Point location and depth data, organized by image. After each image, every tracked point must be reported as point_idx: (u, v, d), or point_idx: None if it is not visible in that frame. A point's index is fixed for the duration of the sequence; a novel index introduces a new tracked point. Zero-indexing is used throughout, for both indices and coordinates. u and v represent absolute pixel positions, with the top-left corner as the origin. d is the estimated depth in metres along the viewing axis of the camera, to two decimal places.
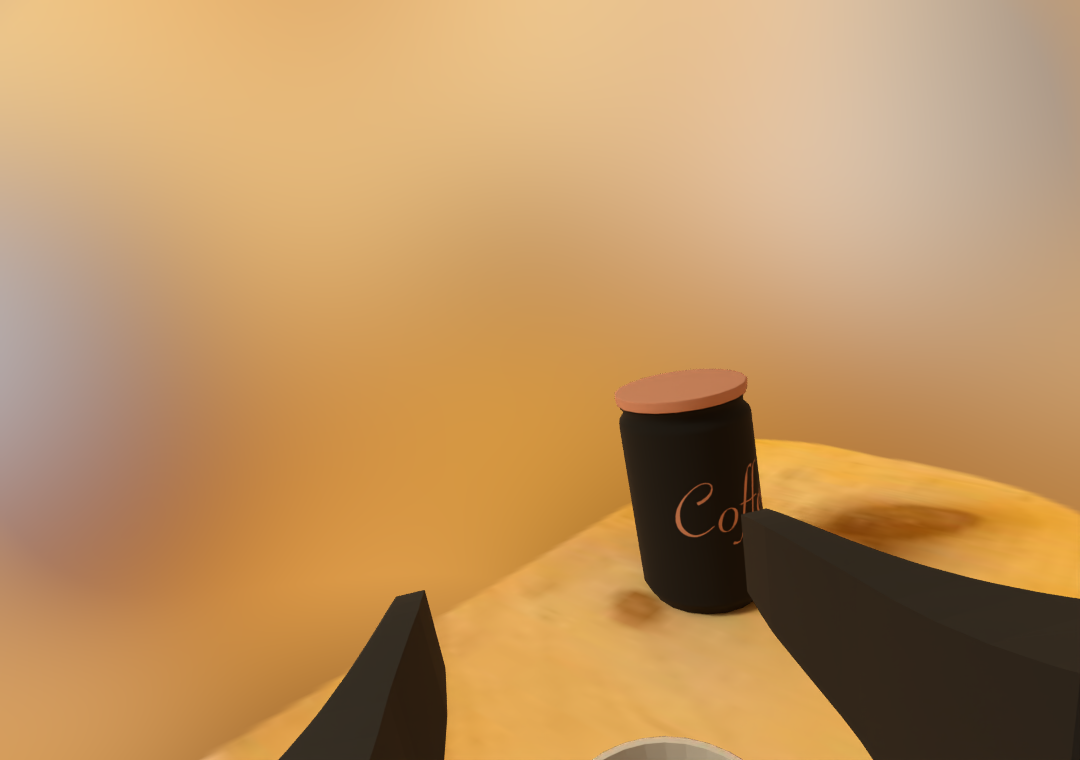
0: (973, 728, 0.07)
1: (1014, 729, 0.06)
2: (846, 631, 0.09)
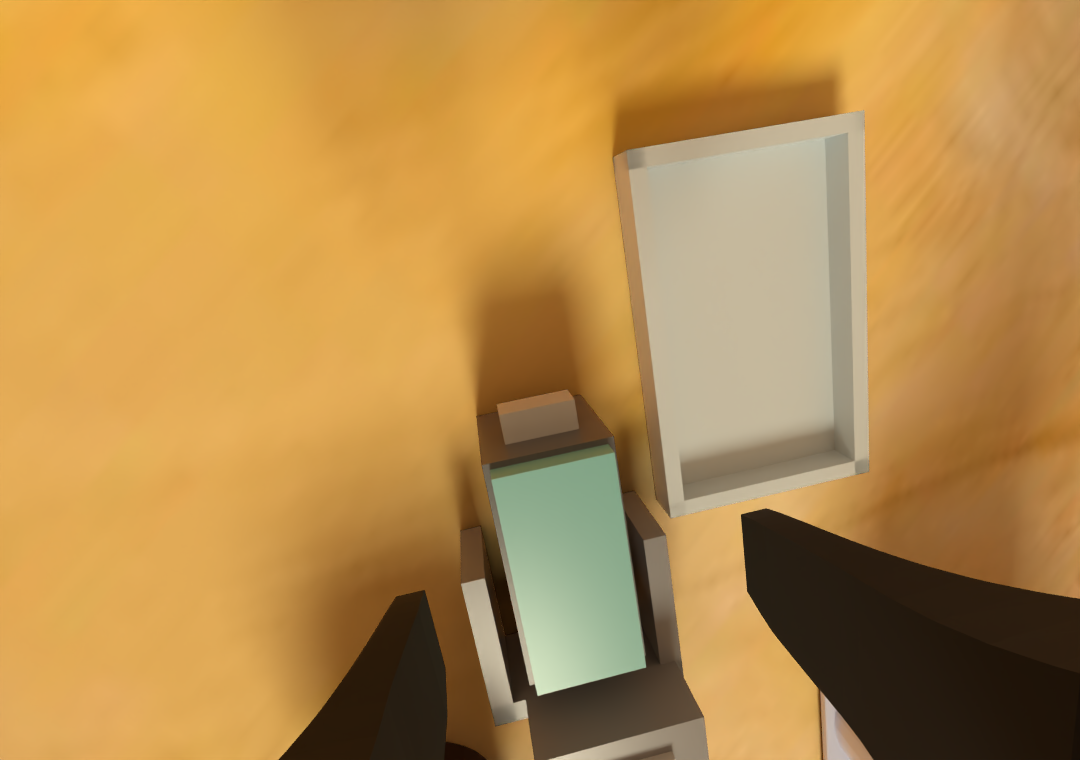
0: (973, 728, 0.07)
1: (1014, 729, 0.06)
2: (846, 631, 0.09)
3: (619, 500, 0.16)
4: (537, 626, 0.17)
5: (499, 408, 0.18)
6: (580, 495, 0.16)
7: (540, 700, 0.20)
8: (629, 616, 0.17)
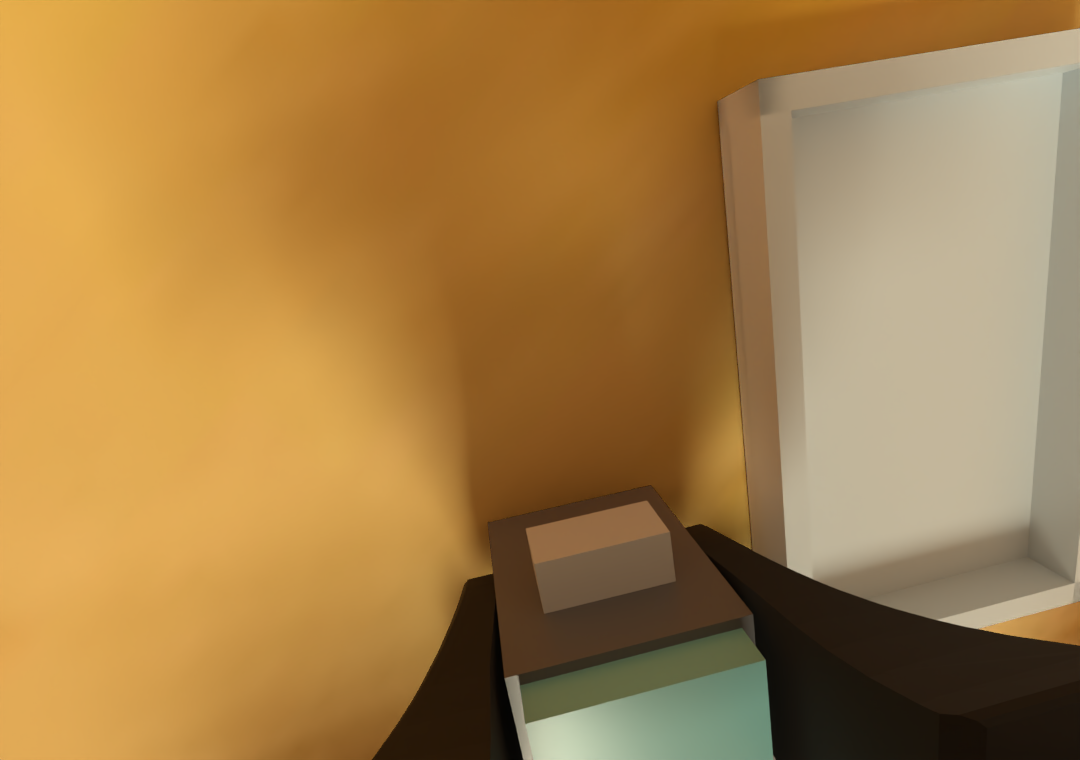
0: None
1: None
2: (761, 653, 0.09)
3: (767, 741, 0.09)
4: None
5: (532, 543, 0.10)
6: (696, 739, 0.08)
7: None
8: None
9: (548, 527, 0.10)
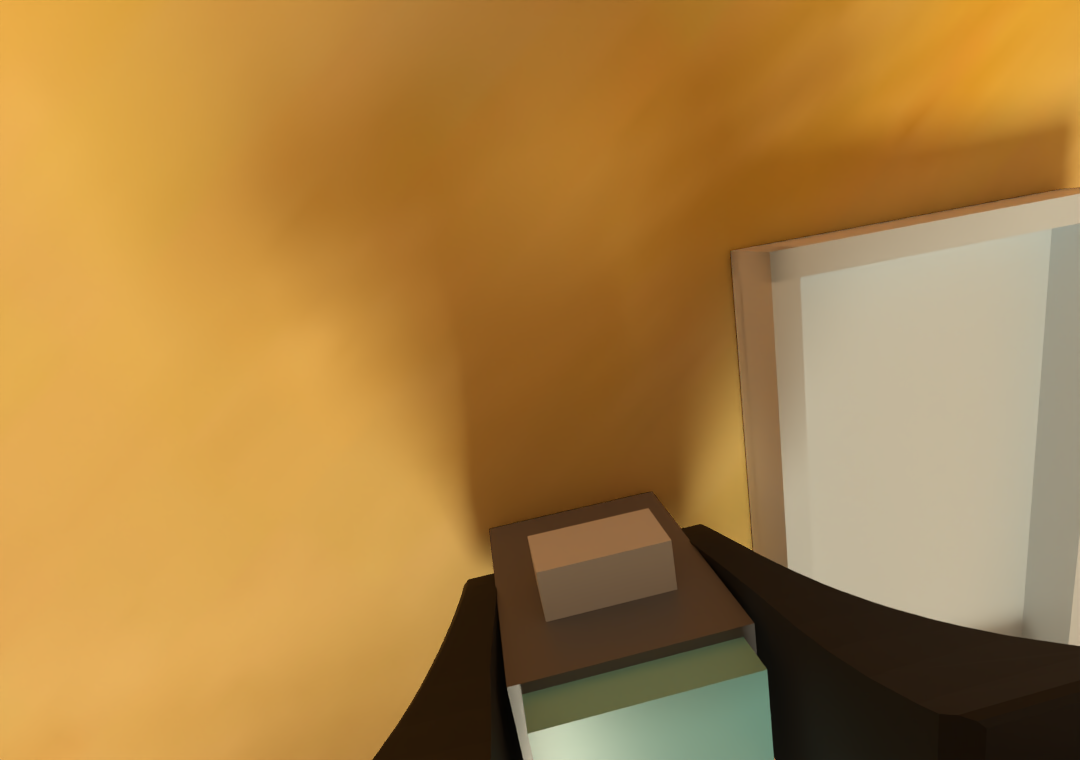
0: None
1: None
2: (761, 654, 0.09)
3: (769, 750, 0.09)
4: None
5: (534, 551, 0.10)
6: (697, 748, 0.08)
7: None
8: None
9: (550, 535, 0.10)
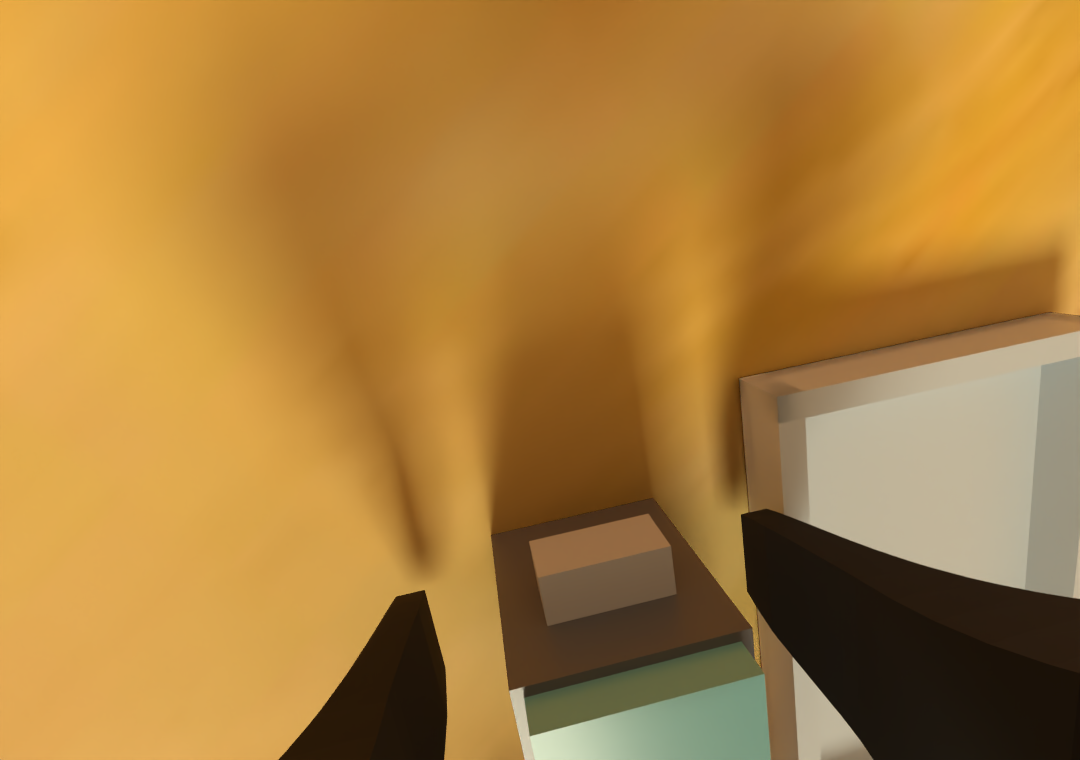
0: (973, 728, 0.07)
1: (1014, 729, 0.06)
2: (846, 631, 0.09)
3: (766, 752, 0.09)
4: None
5: (535, 556, 0.10)
6: (696, 750, 0.08)
7: None
8: None
9: (551, 540, 0.11)
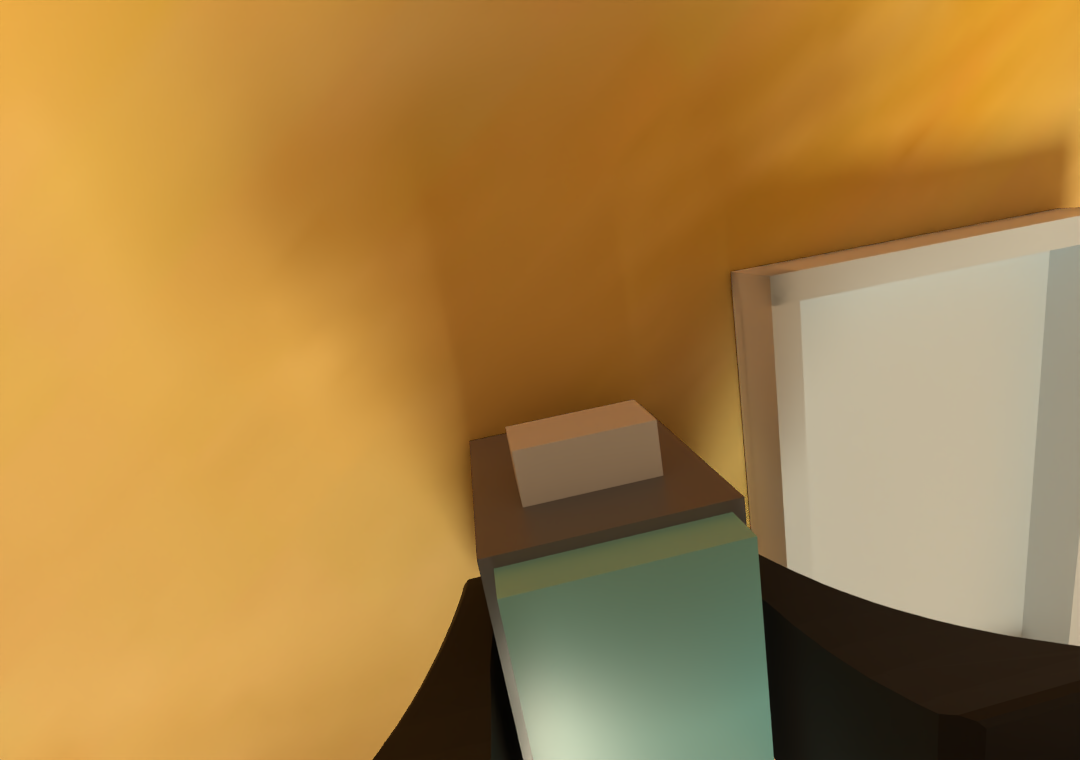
0: None
1: None
2: None
3: (759, 630, 0.08)
4: None
5: (511, 436, 0.09)
6: (682, 623, 0.08)
7: None
8: None
9: (529, 424, 0.10)
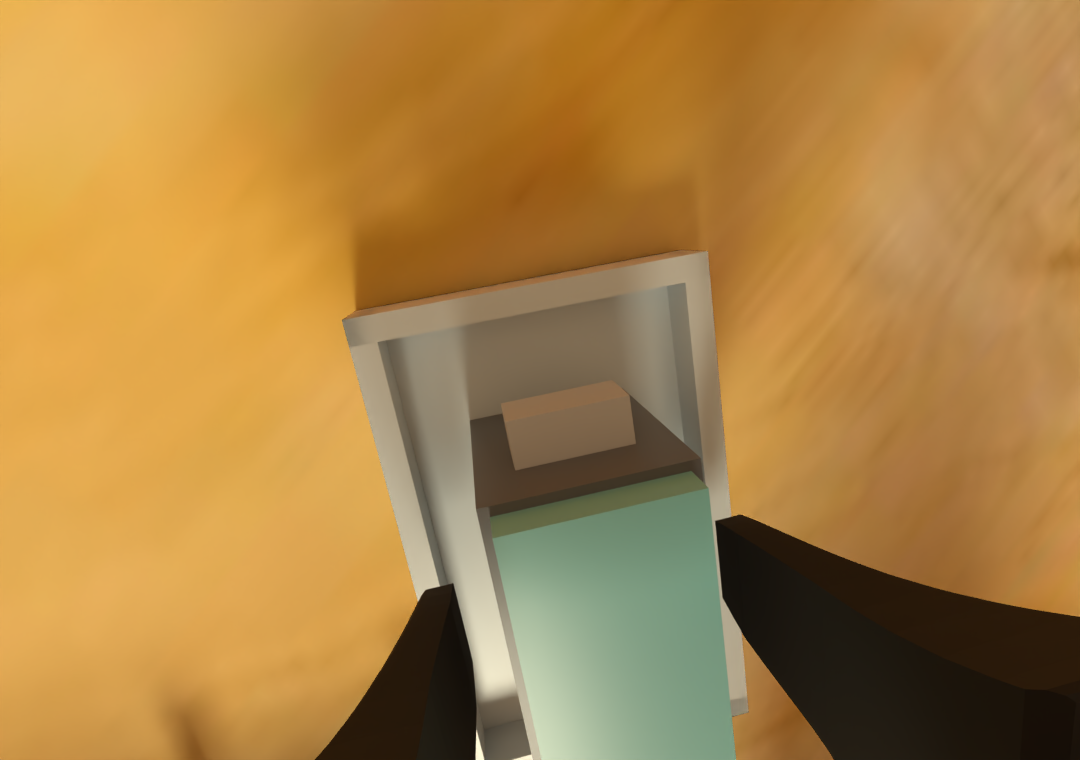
0: (929, 741, 0.07)
1: (966, 743, 0.06)
2: (813, 640, 0.09)
3: (713, 569, 0.09)
4: None
5: (505, 410, 0.11)
6: (647, 562, 0.09)
7: None
8: (720, 753, 0.10)
9: (521, 401, 0.11)
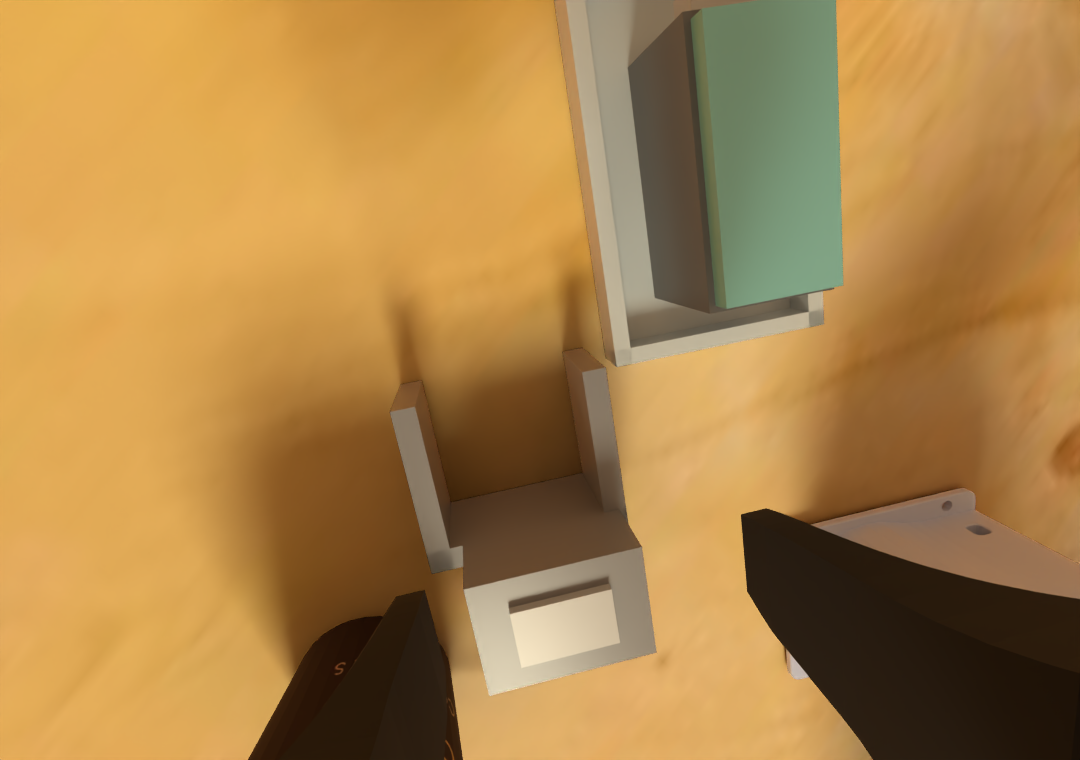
0: (973, 728, 0.07)
1: (1014, 729, 0.06)
2: (846, 631, 0.09)
3: (834, 56, 0.14)
4: (733, 215, 0.15)
5: None
6: (794, 43, 0.14)
7: (477, 545, 0.19)
8: (831, 214, 0.16)
9: None
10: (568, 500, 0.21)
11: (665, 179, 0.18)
